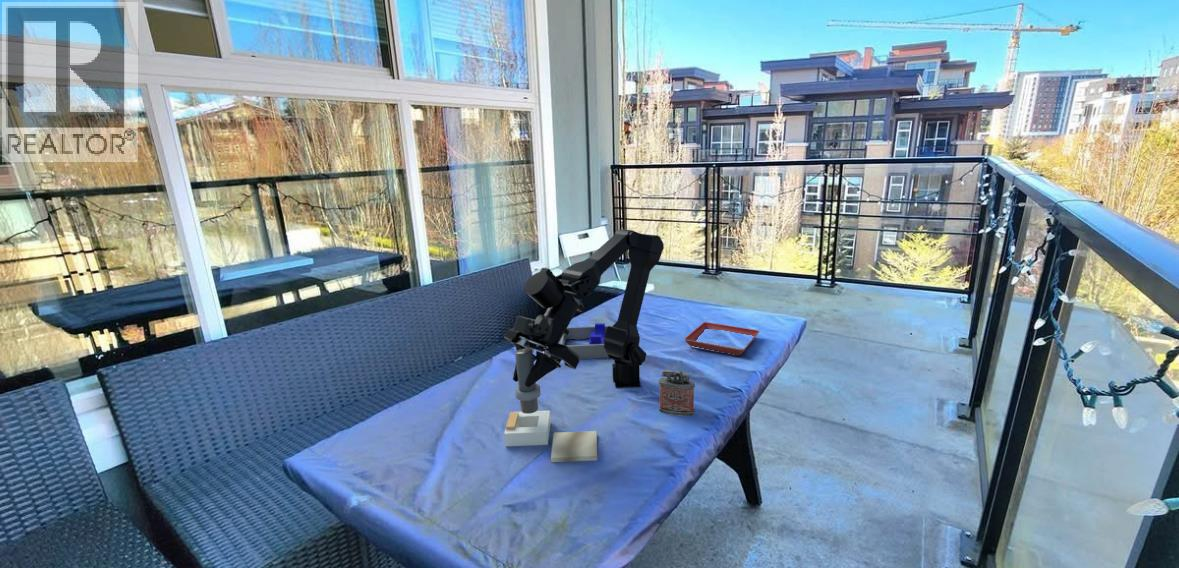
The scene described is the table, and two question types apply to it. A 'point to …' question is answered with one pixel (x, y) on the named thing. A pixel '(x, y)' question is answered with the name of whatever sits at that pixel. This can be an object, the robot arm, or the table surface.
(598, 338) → the blue stepped block
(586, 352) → the storage tray
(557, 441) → the birch board
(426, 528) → the table surface
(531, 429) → the socket block
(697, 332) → the plant saucer
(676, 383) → the lighter
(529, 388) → the plug
